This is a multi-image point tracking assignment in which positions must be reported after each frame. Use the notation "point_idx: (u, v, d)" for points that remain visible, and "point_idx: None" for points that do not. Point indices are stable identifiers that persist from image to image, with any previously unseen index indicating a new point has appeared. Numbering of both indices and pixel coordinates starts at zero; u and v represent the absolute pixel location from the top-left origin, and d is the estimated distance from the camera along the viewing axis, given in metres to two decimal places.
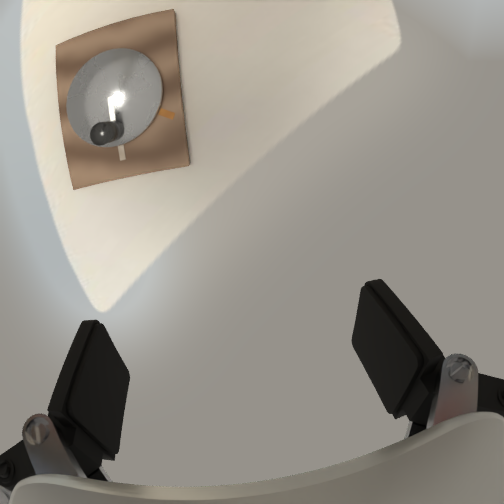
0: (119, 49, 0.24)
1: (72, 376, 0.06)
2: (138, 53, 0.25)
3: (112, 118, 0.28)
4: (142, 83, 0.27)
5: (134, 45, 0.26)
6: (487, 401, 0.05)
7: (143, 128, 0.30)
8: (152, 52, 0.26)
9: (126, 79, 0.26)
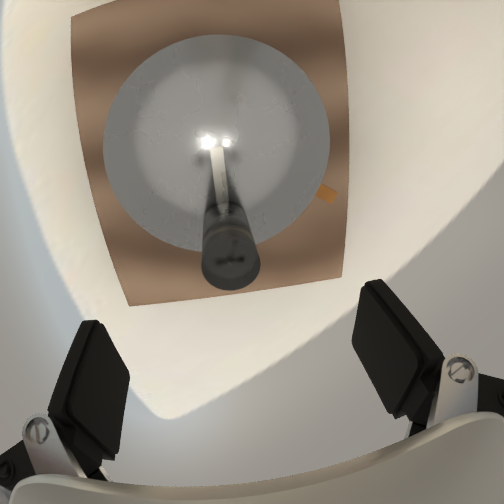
0: (237, 38, 0.12)
1: (72, 376, 0.06)
2: (283, 57, 0.12)
3: (221, 197, 0.16)
4: (292, 128, 0.14)
5: (261, 36, 0.13)
6: (487, 401, 0.05)
7: (287, 223, 0.17)
8: (301, 60, 0.14)
9: (255, 112, 0.14)
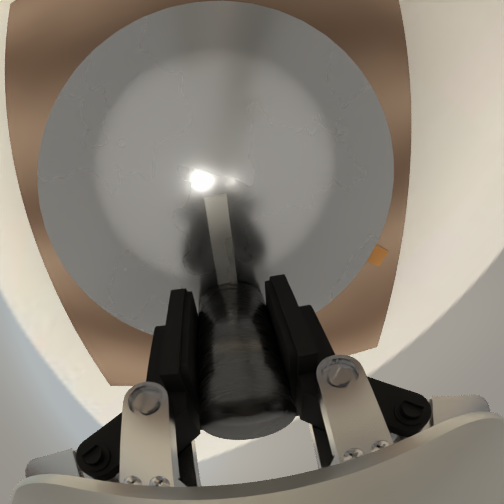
0: (251, 7, 0.06)
1: (179, 339, 0.07)
2: (329, 44, 0.07)
3: (225, 276, 0.10)
4: (341, 163, 0.09)
5: (287, 11, 0.07)
6: None
7: (322, 304, 0.12)
8: (348, 53, 0.08)
9: (283, 135, 0.08)
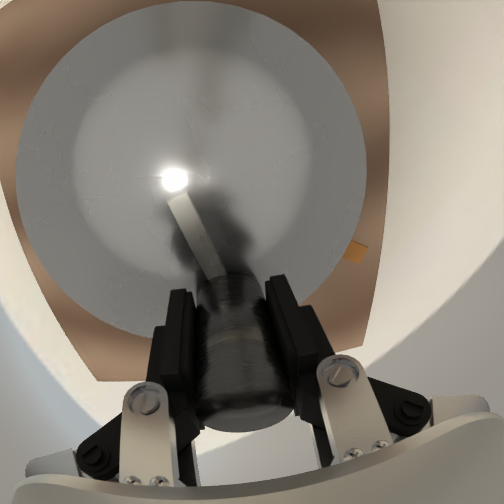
0: (155, 9, 0.06)
1: (179, 339, 0.07)
2: (244, 13, 0.06)
3: (212, 269, 0.10)
4: (296, 127, 0.08)
5: (252, 5, 0.07)
6: None
7: (323, 276, 0.11)
8: (317, 44, 0.08)
9: (224, 118, 0.08)
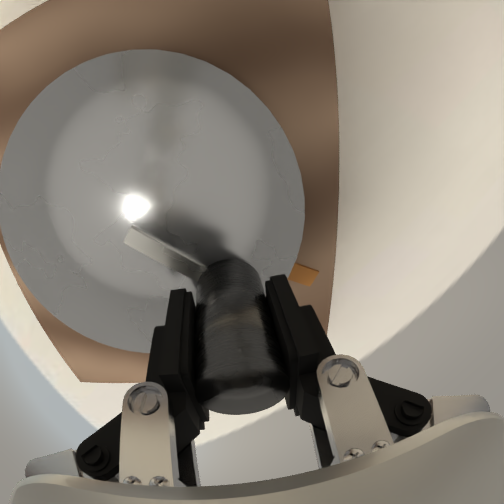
0: (21, 121, 0.07)
1: (178, 339, 0.07)
2: (71, 73, 0.06)
3: (193, 272, 0.11)
4: (171, 120, 0.08)
5: (194, 41, 0.08)
6: None
7: (299, 222, 0.10)
8: (261, 76, 0.09)
9: (115, 156, 0.08)
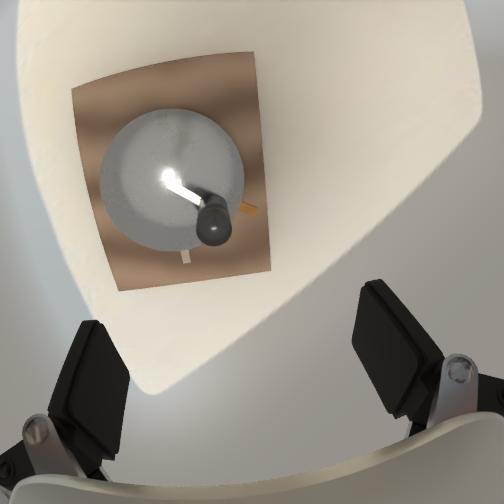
0: (118, 134, 0.20)
1: (72, 376, 0.06)
2: (144, 116, 0.20)
3: (197, 200, 0.24)
4: (187, 137, 0.21)
5: (197, 103, 0.22)
6: (487, 401, 0.05)
7: (241, 176, 0.24)
8: (225, 118, 0.23)
9: (165, 151, 0.22)
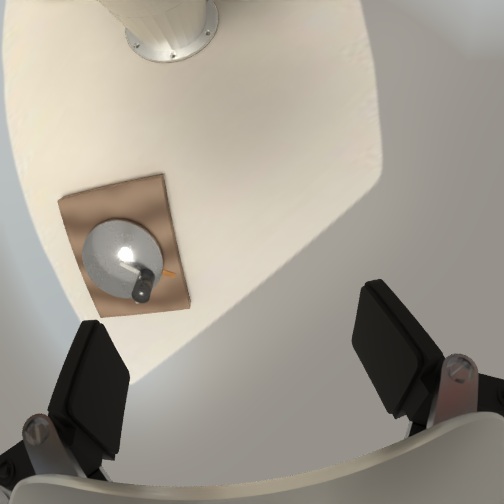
0: (89, 235, 0.36)
1: (72, 376, 0.06)
2: (101, 225, 0.36)
3: (137, 272, 0.40)
4: (126, 237, 0.37)
5: (131, 214, 0.37)
6: (487, 401, 0.05)
7: (160, 259, 0.39)
8: (148, 222, 0.38)
9: (115, 245, 0.37)
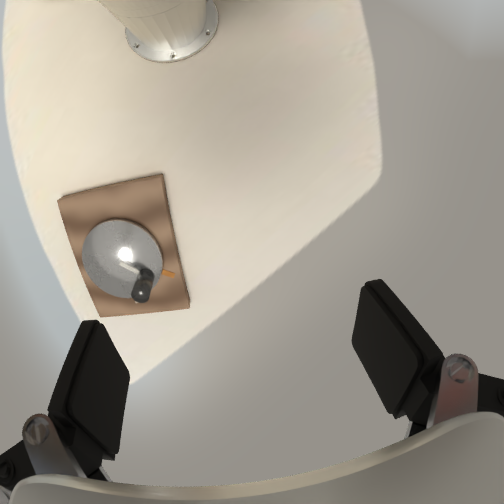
0: (88, 234, 0.36)
1: (72, 376, 0.06)
2: (101, 225, 0.36)
3: (136, 271, 0.40)
4: (126, 237, 0.37)
5: (131, 213, 0.37)
6: (487, 401, 0.05)
7: (159, 258, 0.39)
8: (148, 222, 0.38)
9: (115, 245, 0.37)
